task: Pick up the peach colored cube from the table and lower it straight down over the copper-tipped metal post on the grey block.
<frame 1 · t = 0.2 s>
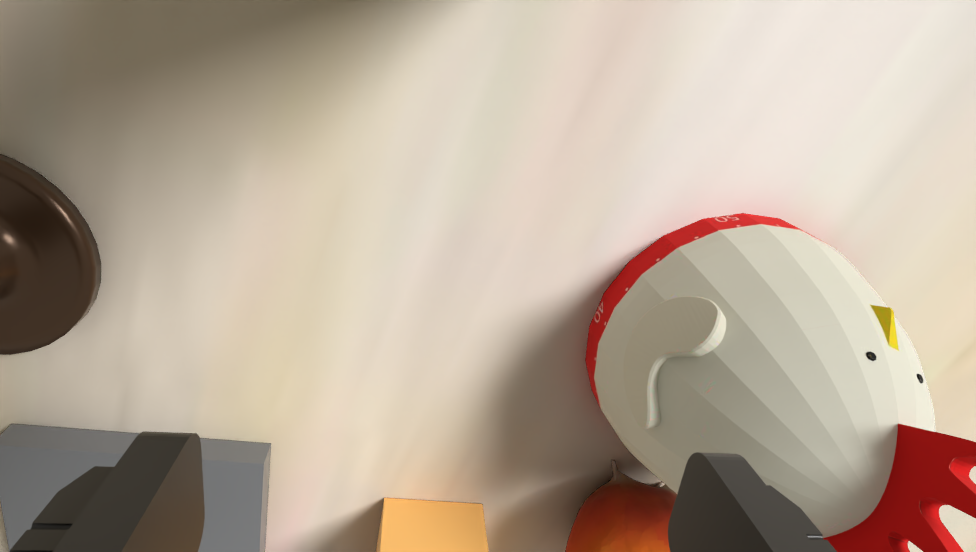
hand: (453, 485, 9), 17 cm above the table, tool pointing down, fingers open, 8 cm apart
peach colored cube: (426, 537, 34), on the table
kitchen timer: (712, 337, 30), on the table
fruit: (615, 506, 35), on the table
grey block: (151, 549, 32), on the table
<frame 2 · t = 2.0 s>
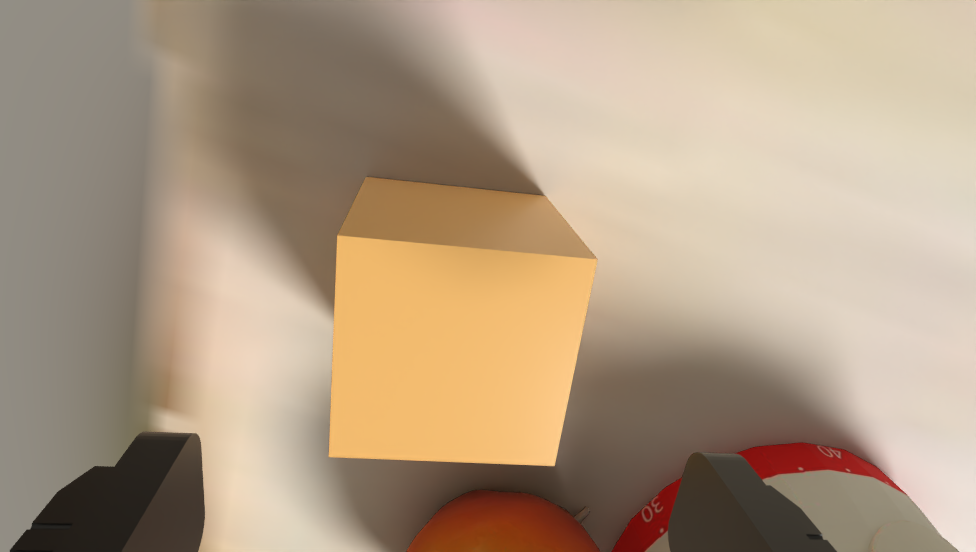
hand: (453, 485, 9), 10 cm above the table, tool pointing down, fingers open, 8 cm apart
peach colored cube: (448, 270, 19), on the table
fruit: (493, 526, 23), on the table
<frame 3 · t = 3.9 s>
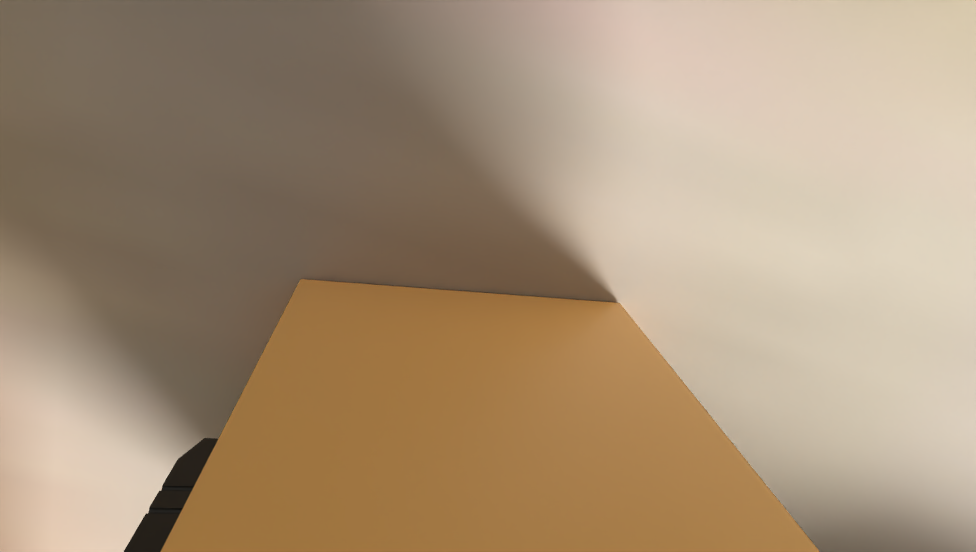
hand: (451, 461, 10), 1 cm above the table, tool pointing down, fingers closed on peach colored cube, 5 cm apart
peach colored cube: (449, 426, 11), on the table, touching gripper
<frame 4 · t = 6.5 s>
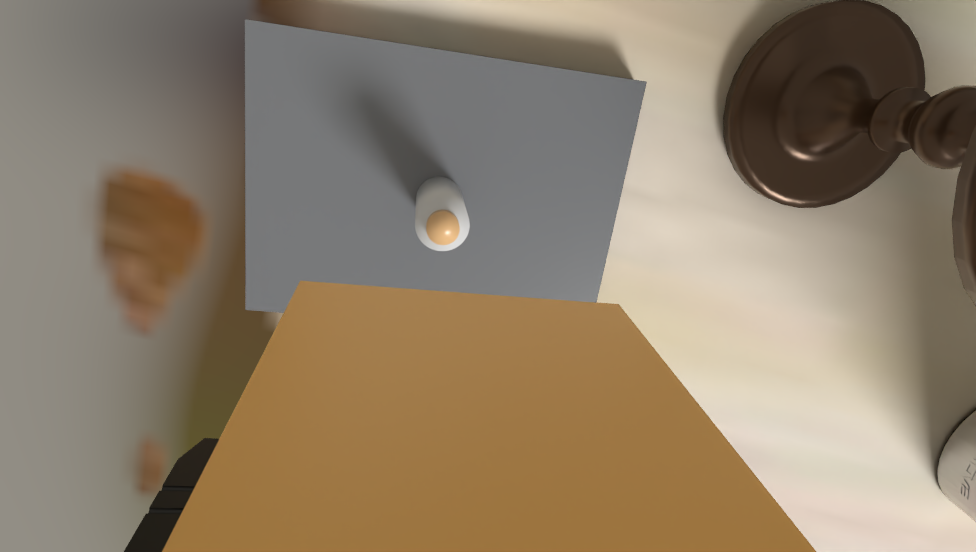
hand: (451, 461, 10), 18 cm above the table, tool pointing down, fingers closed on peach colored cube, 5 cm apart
peach colored cube: (449, 427, 11), point 17 cm above the table, touching gripper
candlestick: (813, 108, 27), on the table
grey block: (438, 191, 26), on the table
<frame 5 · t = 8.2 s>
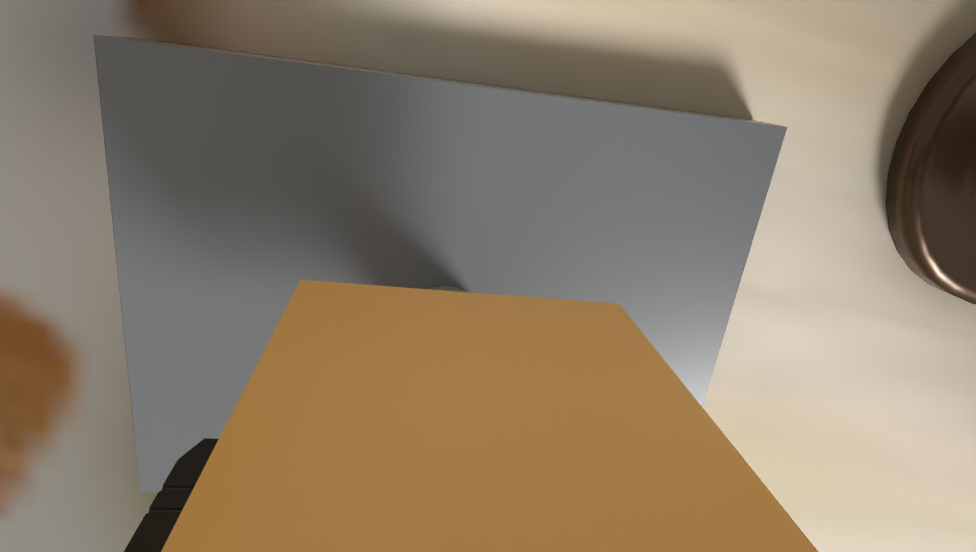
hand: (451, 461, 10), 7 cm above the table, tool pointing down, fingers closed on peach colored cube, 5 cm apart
peach colored cube: (449, 426, 11), point 6 cm above the table, touching gripper
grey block: (442, 298, 17), on the table
when the fingers open (4 cm above the table, at t = 9.6 s): peach colored cube drops 2 cm, resting on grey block.
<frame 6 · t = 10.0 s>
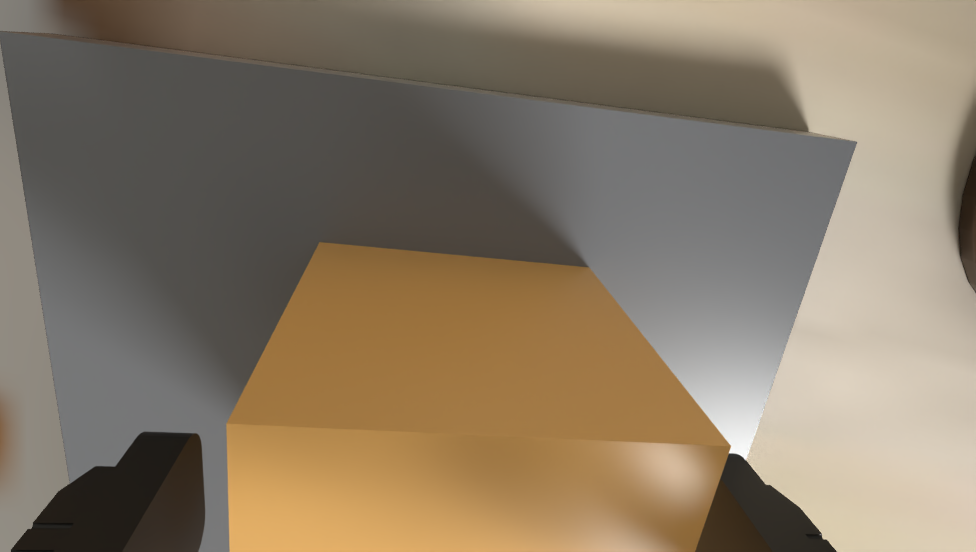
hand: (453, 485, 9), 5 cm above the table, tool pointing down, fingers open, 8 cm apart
peach colored cube: (444, 373, 13), point 1 cm above the table, touching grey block
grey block: (441, 341, 14), on the table
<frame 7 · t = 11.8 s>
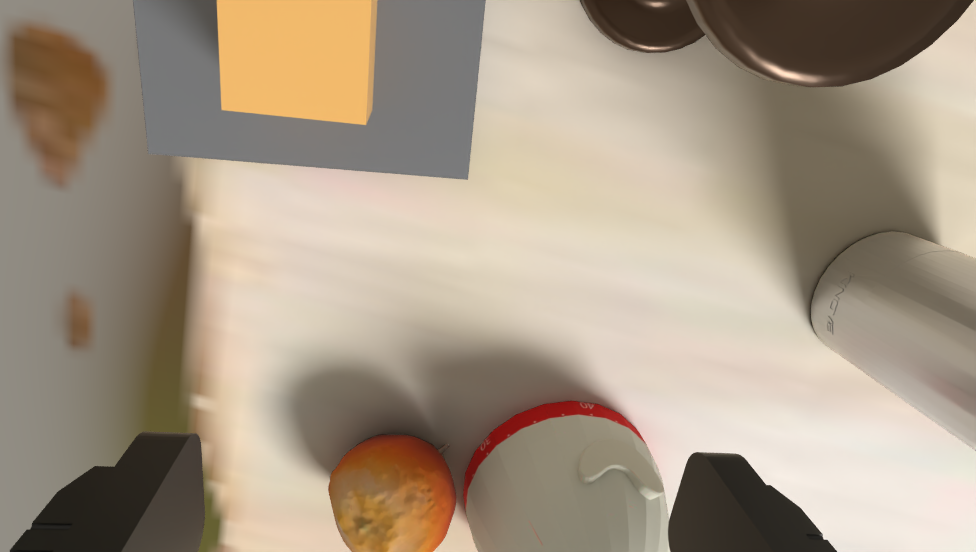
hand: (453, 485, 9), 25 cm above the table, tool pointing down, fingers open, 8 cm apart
peach colored cube: (316, 43, 28), point 1 cm above the table, touching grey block
kitchen timer: (556, 479, 42), on the table
fruit: (393, 458, 39), on the table
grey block: (319, 43, 29), on the table
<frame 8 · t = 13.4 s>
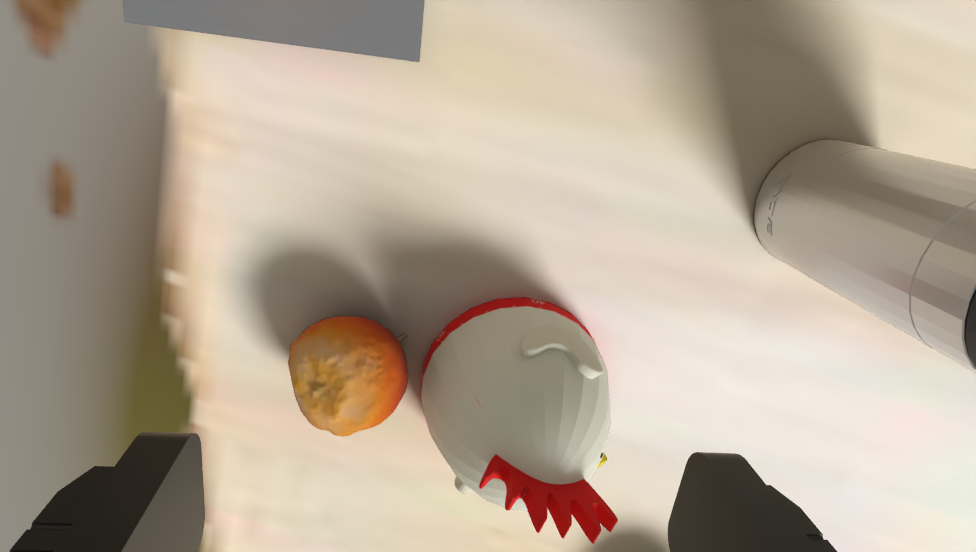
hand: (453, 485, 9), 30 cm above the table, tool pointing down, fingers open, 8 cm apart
kitchen timer: (511, 378, 44), on the table
fruit: (354, 346, 42), on the table
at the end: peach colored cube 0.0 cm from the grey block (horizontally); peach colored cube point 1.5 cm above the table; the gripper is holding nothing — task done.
